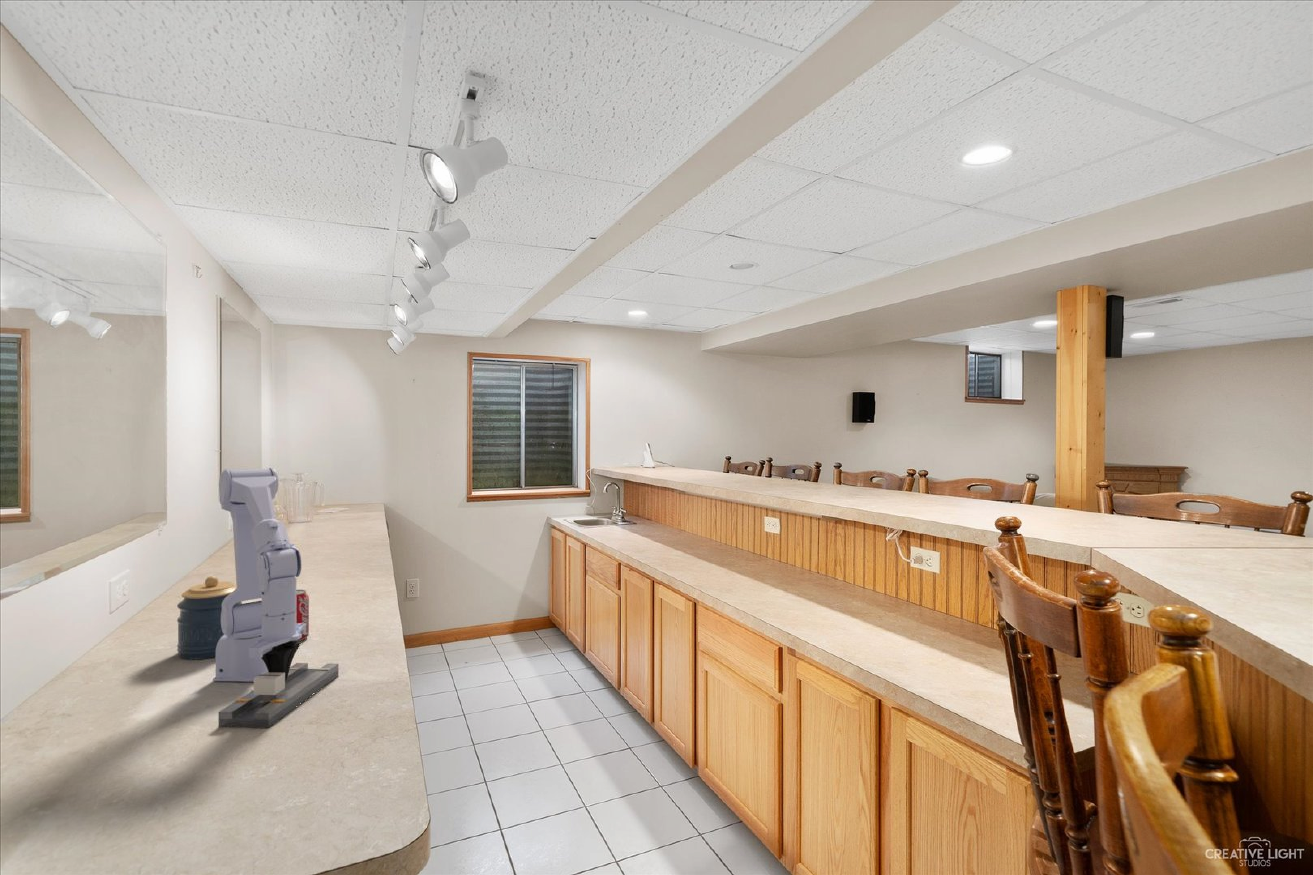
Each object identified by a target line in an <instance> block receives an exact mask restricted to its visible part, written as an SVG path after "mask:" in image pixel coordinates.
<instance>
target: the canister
mask: <svg viewBox="0 0 1313 875" xmlns="http://www.w3.org/2000/svg"><path fill="white" fill-rule="evenodd" d="M236 588H237V585H236V584H234V583H233V582H231V581H230V582H229V581H219V579H218V577H217V576H214V575H212V576H207V577H206V578H205V580H204V583H200V584H196V585H193V586H191V587H189V589H187V590H186V591H184V592H183V593H181V597H182V598H183V600H180V602H178V603H177V606H176V607H177V608H178V609H179V611H180V612H179V616H178V618H177V620H176V621H177V630H178V632H177V636H178V637H177V639H178V640H177V646H176V647H177V649H176V651H177V653H178V657H179V658H181V659H185V660H203V659H210V658H211V659H212V658H216V646H217V643H218V641H219V639H220V638H221V637H222V636H223V635H225V634H223V632H222V628H221V612H222V602H223V600H224V599H225V598H226V597H227V596H228V595H229V594H230V593H232V592H233V591H234V590H235V589H236ZM242 602H243V601H241V602H238V603H236V604H235V605H238V604H243V603H242Z"/></svg>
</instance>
